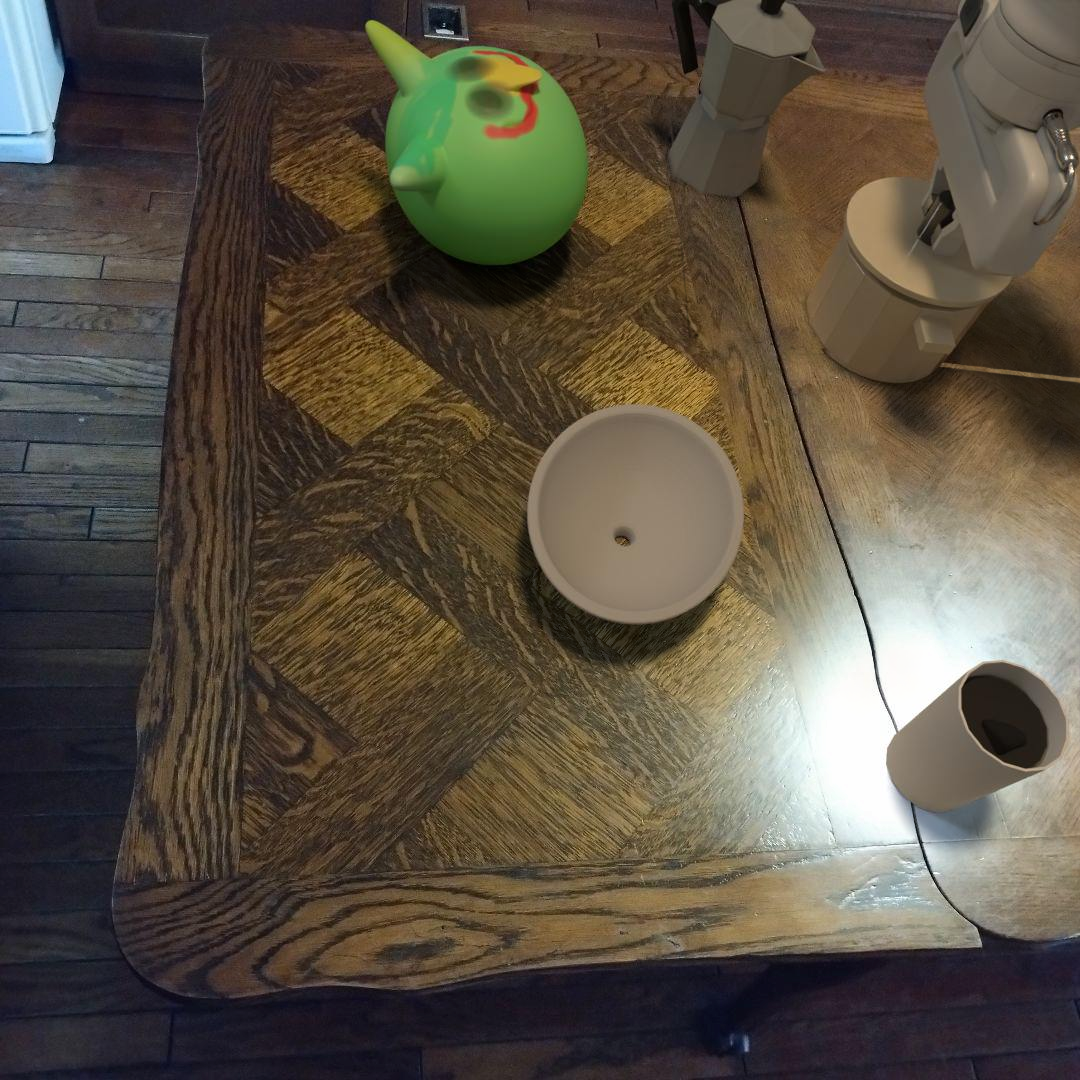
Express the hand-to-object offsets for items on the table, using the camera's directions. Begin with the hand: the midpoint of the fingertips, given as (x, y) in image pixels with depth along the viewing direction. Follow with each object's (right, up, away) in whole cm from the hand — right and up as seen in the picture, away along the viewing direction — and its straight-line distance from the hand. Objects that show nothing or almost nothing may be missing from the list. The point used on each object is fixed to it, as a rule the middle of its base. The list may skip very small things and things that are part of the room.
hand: (935, 231), depth 76 cm
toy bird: (-36, +3, +8) cm, 37 cm away
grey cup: (-5, -39, -11) cm, 41 cm away
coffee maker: (-15, +11, +17) cm, 25 cm away
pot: (-2, -5, +9) cm, 10 cm away
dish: (-25, -24, -6) cm, 35 cm away
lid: (0, -1, +1) cm, 1 cm away
